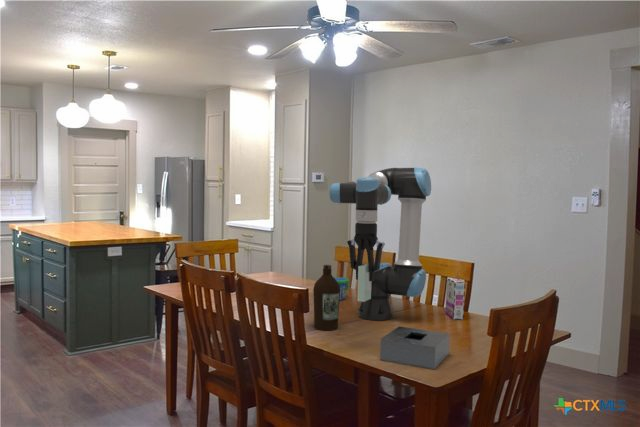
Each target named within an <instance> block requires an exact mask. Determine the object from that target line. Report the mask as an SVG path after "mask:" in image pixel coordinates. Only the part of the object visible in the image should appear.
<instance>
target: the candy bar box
mask: <svg viewBox="0 0 640 427" xmlns="http://www.w3.org/2000/svg"><path fill="white" fill-rule="evenodd" d="M445 290H446V292H445V294H446V295H445V315H446V316H448V317H449V318H451V319H452V320H455V321H457V320H459V321H460V320H462V321H463V320H464V319H465V314H464V313H465V296H466V282H465V281H463V280H461V279H459V278H458V277H447V278H446V288H445Z"/></svg>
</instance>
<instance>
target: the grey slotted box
mask: <svg viewBox="0 0 640 427" xmlns="http://www.w3.org/2000/svg"><path fill="white" fill-rule="evenodd" d="M450 336H451V334H450V333H446V332H441V331H433V330H428V329H427V330H426V329H419V328H412V327H406V326H397V327H396V328H395V329H393V330H391V331H390V332H389V333H387V334H386V335H384V336H383V337H381V338H380V354H379V355H380V357H379V358H380V361H385V362H389V363H390V362H391V363H396V364H403V365H409V366H413V367H419V368H423V369H424V368H425V369H430V370H436V369H437V368H438V366H439V365H441V363H443V361H444V360H445V359H446V358H447V356H449V354H450Z"/></svg>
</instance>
